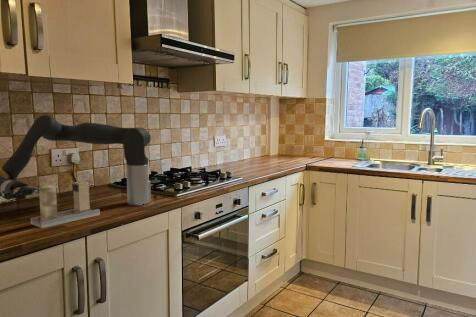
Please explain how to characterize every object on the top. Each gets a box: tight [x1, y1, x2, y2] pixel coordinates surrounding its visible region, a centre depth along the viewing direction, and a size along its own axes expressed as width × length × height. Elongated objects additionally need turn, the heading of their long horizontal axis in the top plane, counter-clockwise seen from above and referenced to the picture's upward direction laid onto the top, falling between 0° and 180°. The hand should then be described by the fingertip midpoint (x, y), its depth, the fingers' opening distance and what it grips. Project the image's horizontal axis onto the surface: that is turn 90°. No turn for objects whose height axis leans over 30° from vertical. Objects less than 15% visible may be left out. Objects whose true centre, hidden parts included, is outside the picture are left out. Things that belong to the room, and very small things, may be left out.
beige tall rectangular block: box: [38, 185, 58, 221], centre depth 131 cm, size 4×4×12 cm
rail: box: [30, 180, 101, 229], centre depth 136 cm, size 22×8×13 cm, turn 143°
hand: (33, 194), depth 138 cm, fingers open, 8 cm apart
